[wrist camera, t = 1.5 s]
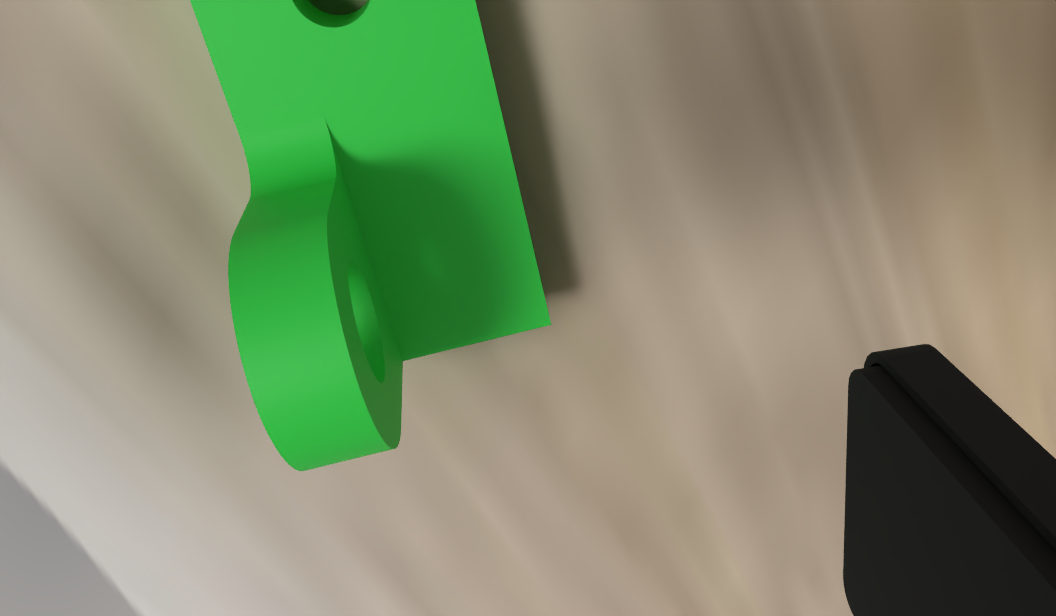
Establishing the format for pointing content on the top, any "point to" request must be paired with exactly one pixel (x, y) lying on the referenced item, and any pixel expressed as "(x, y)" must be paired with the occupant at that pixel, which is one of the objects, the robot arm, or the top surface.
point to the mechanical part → (365, 210)
